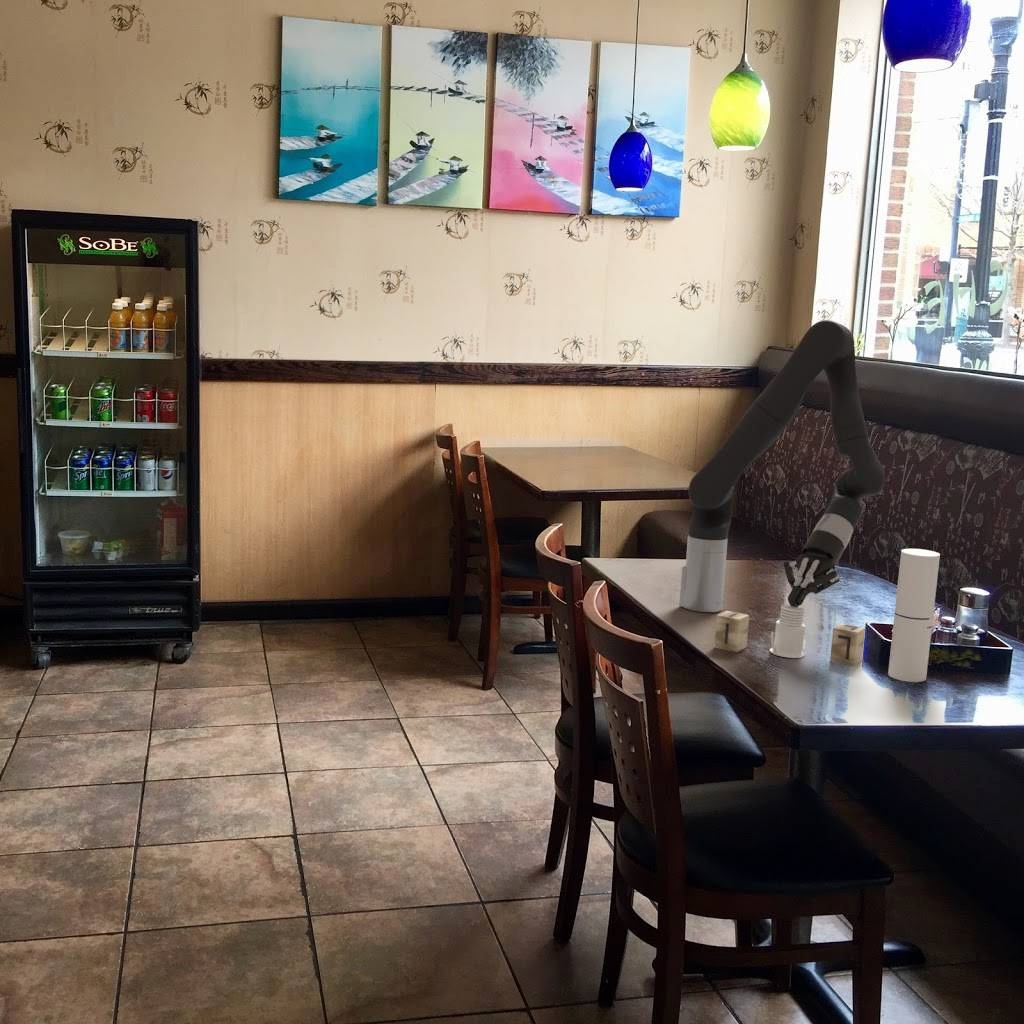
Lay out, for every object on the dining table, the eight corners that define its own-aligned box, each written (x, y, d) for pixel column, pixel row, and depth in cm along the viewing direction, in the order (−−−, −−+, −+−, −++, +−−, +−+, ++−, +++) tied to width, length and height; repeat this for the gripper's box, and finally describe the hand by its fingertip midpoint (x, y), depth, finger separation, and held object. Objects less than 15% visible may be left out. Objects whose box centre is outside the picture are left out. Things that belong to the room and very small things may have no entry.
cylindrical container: (880, 672, 236) (893, 549, 232) (909, 669, 239) (923, 548, 235) (904, 683, 230) (917, 557, 226) (933, 680, 232) (948, 555, 228)
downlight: (778, 659, 242) (784, 612, 240) (761, 649, 248) (767, 603, 246) (812, 659, 244) (818, 612, 242) (795, 649, 251) (801, 603, 249)
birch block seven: (829, 661, 243) (833, 627, 241) (838, 655, 247) (841, 622, 245) (853, 666, 240) (857, 632, 239) (862, 660, 244) (865, 627, 243)
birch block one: (714, 647, 248) (716, 614, 247) (724, 642, 252) (727, 610, 251) (736, 652, 245) (739, 619, 244) (746, 647, 250) (749, 614, 248)
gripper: (795, 524, 253) (759, 587, 246) (851, 534, 244) (815, 600, 237) (806, 546, 258) (770, 609, 251) (862, 556, 248) (826, 622, 242)
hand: (792, 604), depth 244 cm, fingers closed
